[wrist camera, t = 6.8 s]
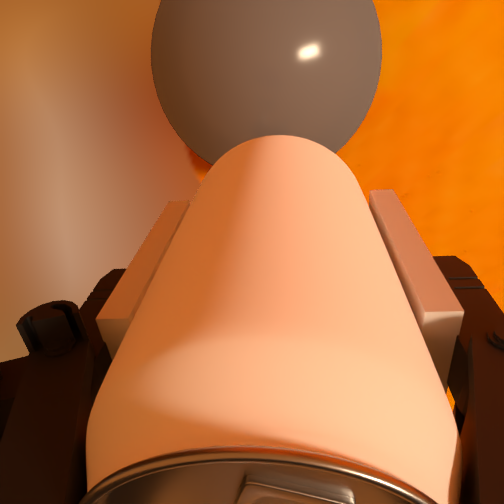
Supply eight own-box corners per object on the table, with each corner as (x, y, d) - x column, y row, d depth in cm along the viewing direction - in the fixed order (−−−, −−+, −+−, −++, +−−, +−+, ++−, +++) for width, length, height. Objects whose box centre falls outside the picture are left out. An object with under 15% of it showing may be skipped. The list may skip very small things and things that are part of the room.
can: (183, 258, 17) (35, 615, 7) (217, 107, 14) (32, 366, 4) (327, 297, 18) (380, 684, 8) (391, 160, 15) (639, 514, 4)
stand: (276, 196, 33) (275, 217, 30) (130, 77, 29) (109, 85, 26) (414, 48, 27) (432, 52, 24) (252, -123, 24) (246, -149, 20)
